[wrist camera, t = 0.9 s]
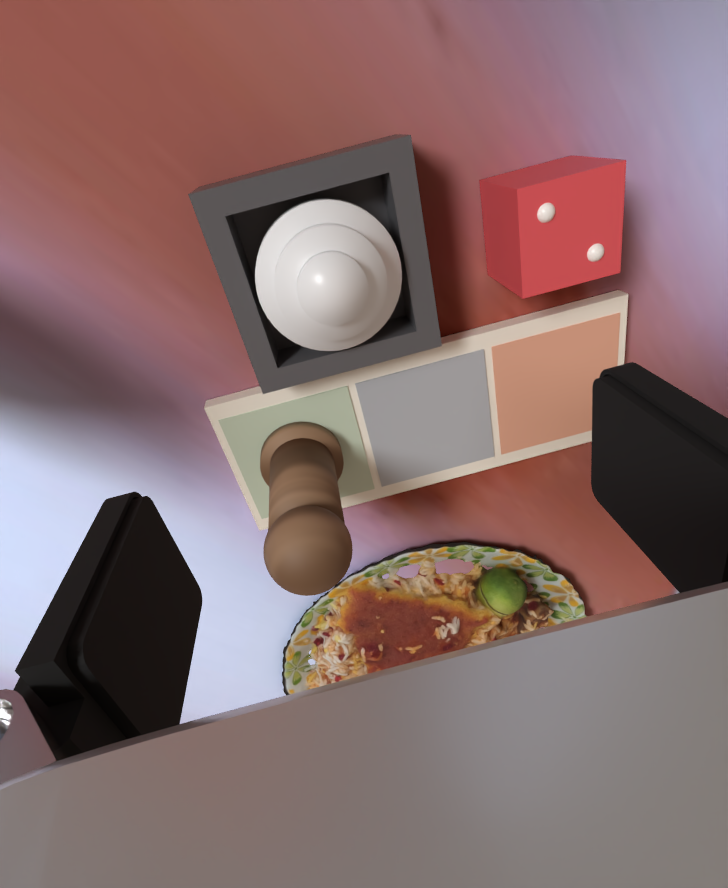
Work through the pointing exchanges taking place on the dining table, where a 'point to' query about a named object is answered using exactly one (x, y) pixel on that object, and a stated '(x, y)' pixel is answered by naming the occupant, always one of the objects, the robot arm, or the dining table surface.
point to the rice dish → (423, 612)
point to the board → (440, 404)
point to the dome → (328, 274)
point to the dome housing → (279, 188)
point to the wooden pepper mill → (305, 509)
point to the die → (554, 223)
